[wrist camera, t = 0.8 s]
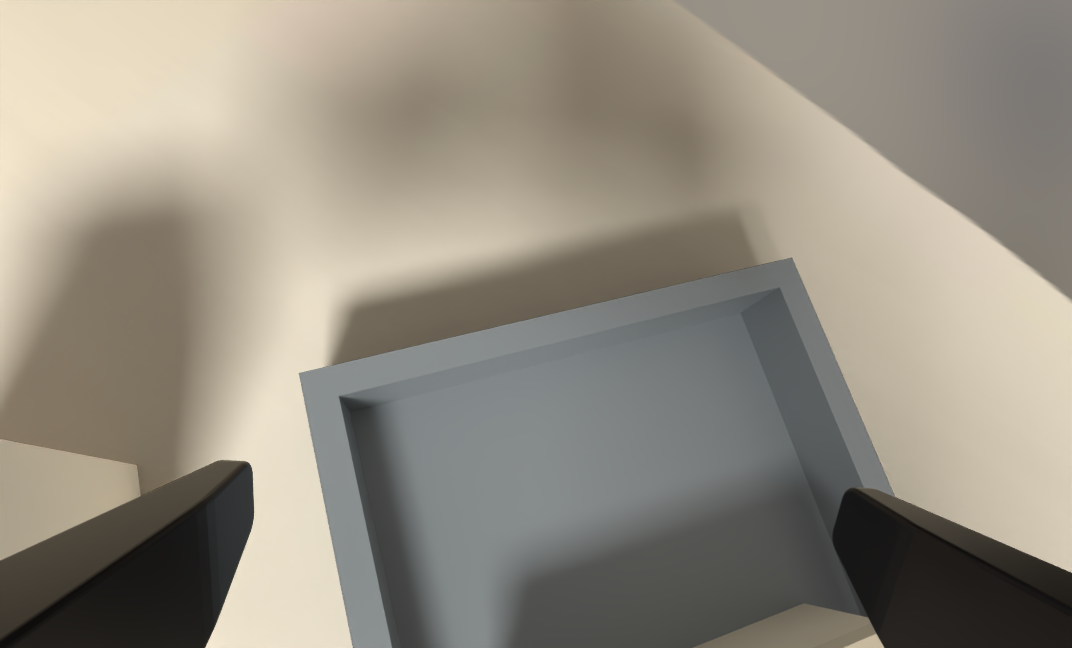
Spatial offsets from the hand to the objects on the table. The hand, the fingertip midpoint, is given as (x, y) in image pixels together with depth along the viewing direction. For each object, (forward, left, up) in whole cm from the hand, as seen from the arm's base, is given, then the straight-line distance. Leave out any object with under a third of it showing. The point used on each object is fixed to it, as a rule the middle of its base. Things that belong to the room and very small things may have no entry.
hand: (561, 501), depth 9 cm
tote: (-5, -4, -14) cm, 16 cm away
